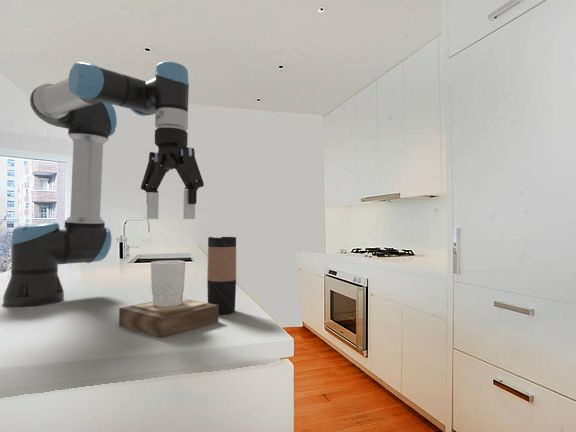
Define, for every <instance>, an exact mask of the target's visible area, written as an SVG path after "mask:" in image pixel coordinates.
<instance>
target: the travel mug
mask: <svg viewBox="0 0 576 432" xmlns="http://www.w3.org/2000/svg"><path fill="white" fill-rule="evenodd" d="M206 281H207V283H206V285H207V288H206V289H207V303H210V304H215V305H219V316H223V315H231V314H234V313H235V312H236V296H237V295H236V293H237V237H236V236H221V237H213V236H208V237H207V280H206Z"/></svg>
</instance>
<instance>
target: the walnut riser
mask: <svg viewBox="0 0 576 432" xmlns="http://www.w3.org/2000/svg"><path fill="white" fill-rule="evenodd" d="M118 310H119V311H118V314H119V315H118V326H121V327H123V328H126V329H131V330H134V331H139V332H140V333H141V332H142V333H145V334H149V335H153V336H156V337H160V338H166V337H169V336H172V335H176V334H180V333H183V332H186V331H191V330H194V329H198V328H200V327H205V326H208V325H212V324H215V323H218V322H219V317H220V315H219V305H215V304H210V303H208V302H202V301H198V300H193V299H186V298H183V303H182V304H181V305H178V306H172V307H156V306H153V301H148V302H142V303H138V304H133V305H129V306H123V307H119V308H118Z"/></svg>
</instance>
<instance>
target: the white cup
mask: <svg viewBox="0 0 576 432" xmlns="http://www.w3.org/2000/svg"><path fill="white" fill-rule="evenodd" d="M185 277H186V261H184V260H157V261H156V260H155V261H151V262H150V279H151V280H150V282H151V286H150V287H151V294H152V302H153V306H156V307H172V306H178V305H181V304H182V303H183V299H184V291H185V280H186V279H185Z"/></svg>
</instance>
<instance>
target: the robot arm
mask: <svg viewBox="0 0 576 432" xmlns="http://www.w3.org/2000/svg"><path fill="white" fill-rule="evenodd" d="M154 75H155V77H154V78H152V79H150V80H148V81H147V80H143V79H140V78H137V77H132V76H130V75H126V74H124V73H123V74H122V73H120V72H116V71H113V70H110V69H107V68H105V67H100V66H97V65H95V64H93V63H88V62H87V63H86V62H82V61H78V62H75V63H74V64H73V65H72V67H71V68H70V70H69V73H68V78H65V79H63V80H61V81H58V82H55V83H44V84H41V85H39V86H37V87H36V88H33V90H32V92H31V94H30V97H29V103H30V106H31V109H32V111H33V113H34V114H35V115H36V116H37V117H38V118H39V119H40V120H42V121H43V122H45V123H47V124H49V125H51V126H53V127H58V128H63V129H67V130H68V132H67V135H68V137H69V138H70V139H71V140H72V141H73V143H72V144H73V146H72V147H73V148H72V164H71V165H72V170H71V193H70V194H71V195H70V215H69V217H67V218H66V219H65V220H64V226H60V225H59V223H58V222H45V223H35V224H26V225H20V226H17V227H15V228H14V229H13V231H12V236H11V241H10V245H11V259H10V261H11V263H10V264H11V266H10V267H11V268H10V269H11V270H10V273H11V275H10V279H9V282H8V285H7V286H6V289H5V291H4V293H3V297H2V300H3V301H2V305H4V306H6V307H7V306H8V307H30V306H41V305H42V306H43V305H49V304H54V303H57V302H61V301H63V300H64V299H65V292H64V289H63V285H62V283H61V280H60V277H59V274H58V272H59V271H58V269H59V265H67V264H69V265H70V264H82V263H83V264H84V263H86V264H89V263H94V262H100V261H101V262H102V261H103V260H104V259H105V258H106V257H107V255H109V252H110V249H111V246H112V232H111V229H110V228H108V227H107V226H106V225H105V223H106V221H105V220H104V219H103V218H101V203H102V202H101V200H102V179H103V178H102V177H103V156H104V144H105V143H107V142H108V141H109V137H111V136H113V135H114V134H115V132H116V128H117V124H118V123H117V122H118V120H117V113H116V110H115V107H114V106H116V107H117V106H118V107H121V108H124V109H130V110H131V111H132V112H133V113H135V114H136V115H138V116H140V117H141V116H142V117H146V116H151V115H154V116H155V119H154V120H155V122H154V123H155V125H154V127H155V128H156V129H155V130H154V145H155V146H157V148H158V151H157V152H154V151H150V152H149V154H148V162H147V165H146V169H145V172H144V176H143V179H142V182H141V185H140V190H142V191H145V193H146V219H148V220H149V219H150V220H151V219H152V220H159V200H160V199H159V196H160V195H159V194H160V193H159V190H158V189H159V187H160V185H161V184H162V181H163V180H164V177H165V176H166V173H168V172H169V171H170V170H174V169H175V170H176V172H177V174H178V176H179V177H180V179H181V181H182V183H183V185H184V186H185V187H184V190H183V215H182V217H183V218H182V219H183V220H186V219H187V220H195V219H196V204H197V194H198V192H197V191H198V190H199V189H200V188H203V187H204V185H205V183H204V181H203V177H202V175H201V172H200V169H199V168H200V167H199V165H198V162H197V159H196V156H195V153H196V151H195V148H193V147H189V146H188V139H189V138H188V136H189V134H188V132H187V131H188V129H189V87H190V83H189V71H188V69H187V68H186V66H184V65H183V64H181V63H178V62H174V61H161V62H159V63H157V65H156V66H155V72H154Z"/></svg>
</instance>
